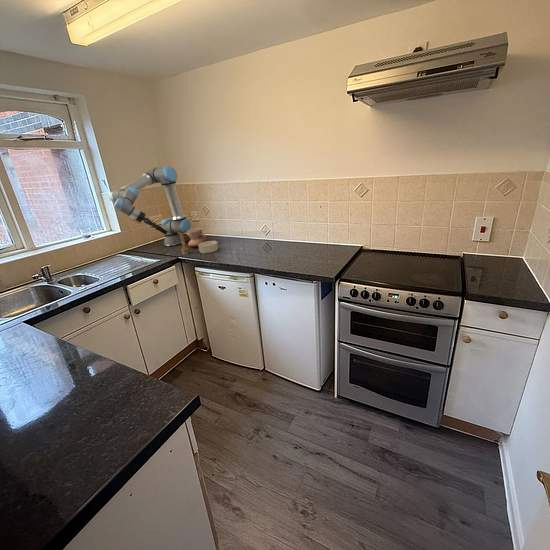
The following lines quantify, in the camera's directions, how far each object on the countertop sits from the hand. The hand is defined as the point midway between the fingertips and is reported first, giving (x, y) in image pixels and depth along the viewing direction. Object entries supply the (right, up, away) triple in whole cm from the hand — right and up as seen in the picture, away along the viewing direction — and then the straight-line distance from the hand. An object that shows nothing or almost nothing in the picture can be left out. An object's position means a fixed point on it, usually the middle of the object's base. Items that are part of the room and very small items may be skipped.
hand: (164, 231), depth 221 cm
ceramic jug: (+18, -8, +28) cm, 34 cm away
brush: (+12, -15, +12) cm, 23 cm away
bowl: (+30, -13, +11) cm, 35 cm away
